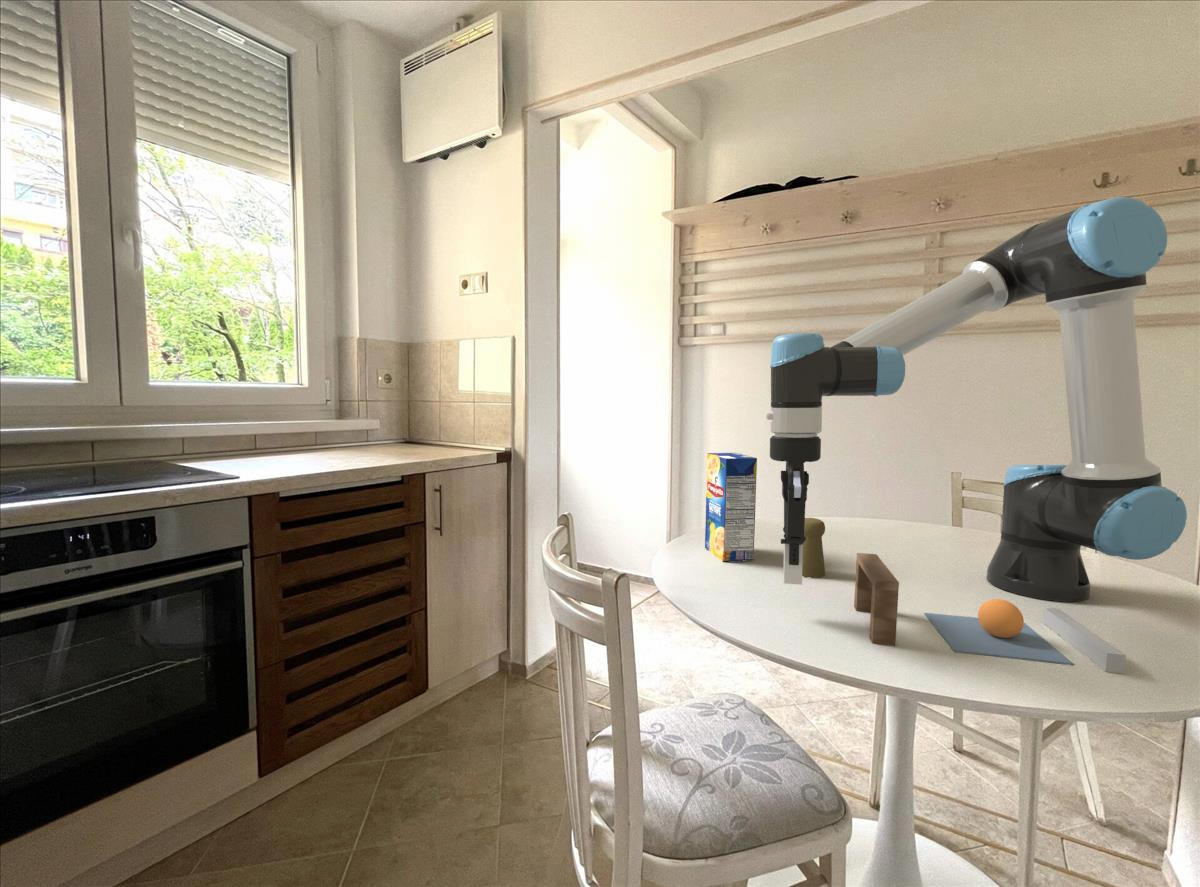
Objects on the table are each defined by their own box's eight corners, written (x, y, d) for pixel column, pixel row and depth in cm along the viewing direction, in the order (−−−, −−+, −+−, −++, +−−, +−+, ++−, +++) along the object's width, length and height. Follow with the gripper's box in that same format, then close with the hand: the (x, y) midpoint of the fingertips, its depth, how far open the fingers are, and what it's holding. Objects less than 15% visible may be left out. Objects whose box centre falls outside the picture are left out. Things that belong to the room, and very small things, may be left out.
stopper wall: (1058, 624, 88) (1059, 609, 87) (1123, 673, 72) (1125, 655, 72) (1043, 623, 88) (1044, 607, 88) (1105, 671, 73) (1107, 652, 72)
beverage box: (723, 562, 119) (726, 458, 117) (704, 548, 129) (707, 453, 127) (753, 560, 120) (757, 458, 118) (732, 547, 131) (735, 452, 129)
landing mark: (1023, 623, 88) (1024, 622, 88) (1073, 665, 74) (1073, 663, 74) (924, 613, 91) (924, 612, 91) (954, 651, 78) (954, 650, 78)
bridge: (873, 608, 94) (876, 554, 93) (895, 645, 80) (898, 582, 79) (854, 606, 94) (856, 552, 94) (872, 643, 80) (875, 580, 80)
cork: (828, 579, 108) (830, 523, 107) (795, 576, 110) (797, 521, 109) (822, 569, 114) (824, 516, 113) (791, 567, 115) (793, 514, 114)
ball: (1021, 610, 85) (991, 586, 85) (1040, 626, 79) (1007, 599, 80) (993, 635, 86) (963, 611, 86) (1010, 652, 81) (978, 626, 81)
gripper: (768, 431, 95) (766, 568, 97) (771, 438, 82) (769, 594, 84) (816, 432, 93) (813, 571, 95) (826, 438, 80) (822, 598, 82)
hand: (792, 582), depth 90 cm, fingers closed
